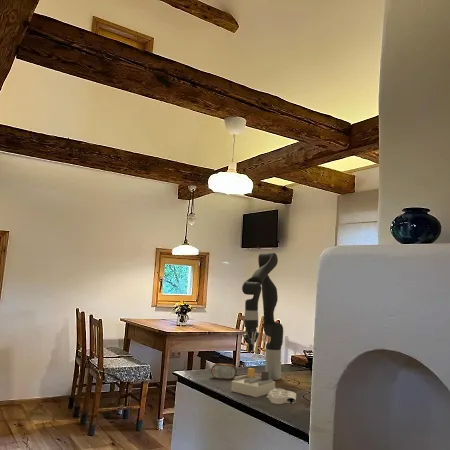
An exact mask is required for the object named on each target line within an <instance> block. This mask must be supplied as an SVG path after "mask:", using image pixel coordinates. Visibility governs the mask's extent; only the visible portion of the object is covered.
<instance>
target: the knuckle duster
mask: <svg viewBox="0 0 450 450" xmlns="http://www.w3.org/2000/svg"><path fill="white" fill-rule="evenodd" d="M265 397H266V398H267V399H268V400H269V401H270V404H271V403H272V404H276V405H282V404H285V403H286V404H295V403H297V393H296V392H294V391H291V390H285V389H283V388H278V389H273V390H271V391H269V393H268V394H267V395H266V396H265ZM291 399H292V402H291Z"/></svg>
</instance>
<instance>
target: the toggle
mask: <svg viewBox="0 0 450 450" xmlns="http://www.w3.org/2000/svg"><path fill="white" fill-rule="evenodd" d="M260 378H261V380H260V381H266V380H270V379H269V372H268V371H265V370H261V376H260Z"/></svg>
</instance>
